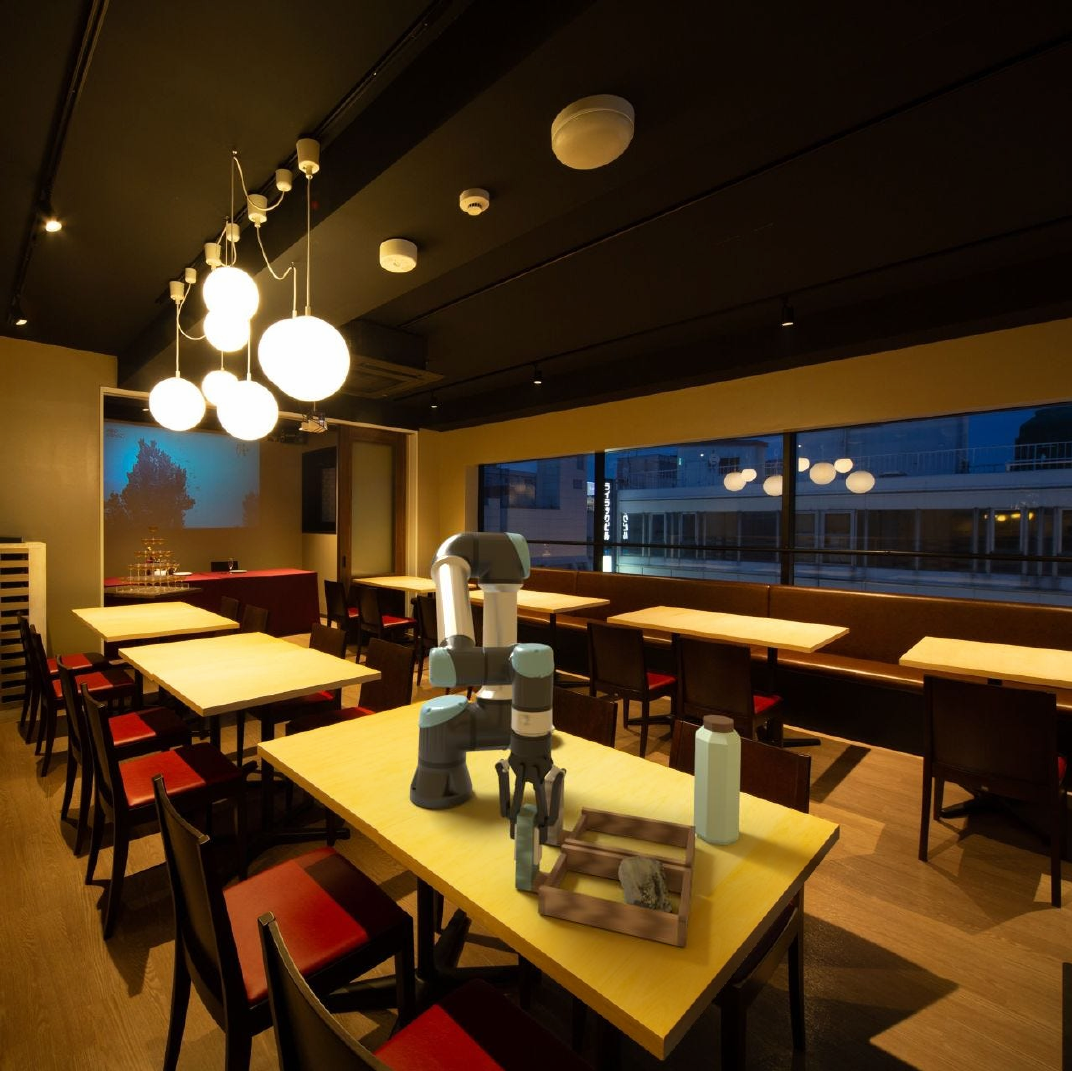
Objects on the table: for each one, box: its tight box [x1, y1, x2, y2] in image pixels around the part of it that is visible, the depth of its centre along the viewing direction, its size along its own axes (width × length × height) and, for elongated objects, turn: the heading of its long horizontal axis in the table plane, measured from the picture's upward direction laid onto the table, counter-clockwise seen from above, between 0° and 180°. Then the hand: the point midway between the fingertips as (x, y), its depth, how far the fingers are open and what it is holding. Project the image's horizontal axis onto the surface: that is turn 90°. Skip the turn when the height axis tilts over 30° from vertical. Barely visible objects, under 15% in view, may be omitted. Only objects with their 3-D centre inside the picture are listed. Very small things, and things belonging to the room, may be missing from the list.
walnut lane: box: [514, 803, 692, 948], centre depth 102 cm, size 30×15×13 cm, turn 72°
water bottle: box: [692, 714, 742, 846], centre depth 125 cm, size 10×10×25 cm
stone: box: [618, 856, 674, 914], centre depth 99 cm, size 10×10×10 cm
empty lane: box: [545, 771, 696, 884], centre depth 117 cm, size 30×15×13 cm, turn 72°
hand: (528, 858), depth 106 cm, fingers closed on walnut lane, 3 cm apart
